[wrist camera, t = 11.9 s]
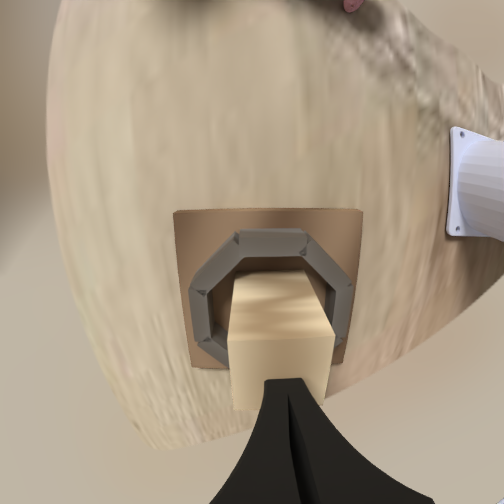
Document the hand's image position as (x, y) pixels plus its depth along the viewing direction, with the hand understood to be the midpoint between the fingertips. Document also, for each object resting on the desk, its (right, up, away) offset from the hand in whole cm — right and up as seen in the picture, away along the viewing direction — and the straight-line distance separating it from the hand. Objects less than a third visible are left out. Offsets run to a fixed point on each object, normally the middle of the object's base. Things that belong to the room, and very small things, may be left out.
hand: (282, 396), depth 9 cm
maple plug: (0, +2, +8) cm, 8 cm away
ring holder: (0, +3, +9) cm, 9 cm away
